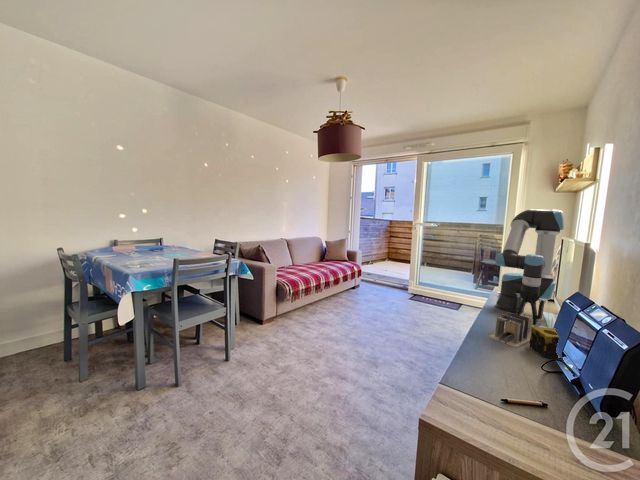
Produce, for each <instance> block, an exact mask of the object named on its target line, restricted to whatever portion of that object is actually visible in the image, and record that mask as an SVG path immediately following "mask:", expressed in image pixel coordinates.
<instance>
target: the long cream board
mask: <svg viewBox="0 0 640 480" xmlns="http://www.w3.org/2000/svg"><path fill="white" fill-rule="evenodd" d="M534 327H544V328H548V327H547V326H544V325H542V320H539V321H537V324H536V325H534ZM523 332H524V331H523ZM530 337H531V331H530V328H529V329H528V337H527V339H525V338H523V336H522V342H520V341H519V342H518V343H517V344H515V343H513V340H514V334H512V333H509V332H505V328H504V333H503V334H500V336H499V337H496V336H495V333H494V334H491V335H489V339H492V340H494V341H496V342H497V341H498V342H500V343H502V344H505V345H508V346H511V347H514V348H515V349H519V348H520V347H522V346H524V345H526V344H528V343H529V342H530Z"/></svg>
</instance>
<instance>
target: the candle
mask: <svg viewBox="0 0 640 480" xmlns="http://www.w3.org/2000/svg"><path fill="white" fill-rule="evenodd" d="M544 327H545V326H544ZM544 327H532V328H531V337H530V341H529V342H528V343H529V348H530V349H531V350H533V351H534V352H535V353H537V354H538V355H539V356H540V357H542V358H543V359H544V358H545V359H557V358H558V355H557V353H556V347H557V343H558V340H559V336H558V334H557V332H556V330H555V329H556V328H555V327H547V328H544Z"/></svg>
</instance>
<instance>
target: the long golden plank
mask: <svg viewBox="0 0 640 480" xmlns="http://www.w3.org/2000/svg"><path fill="white" fill-rule="evenodd" d="M523 317H527V318H530V321H529V328H530V323H531V318H533V316H531V315H527V314H523ZM517 319H518V318H517ZM520 320H521V319H520ZM524 324H525V321H524ZM504 329H505V331H506V332H509V333H512V334H514V332H515V325H513V324H510V323H509V321H508V322H505V325H504ZM523 331H524V328H523Z"/></svg>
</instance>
